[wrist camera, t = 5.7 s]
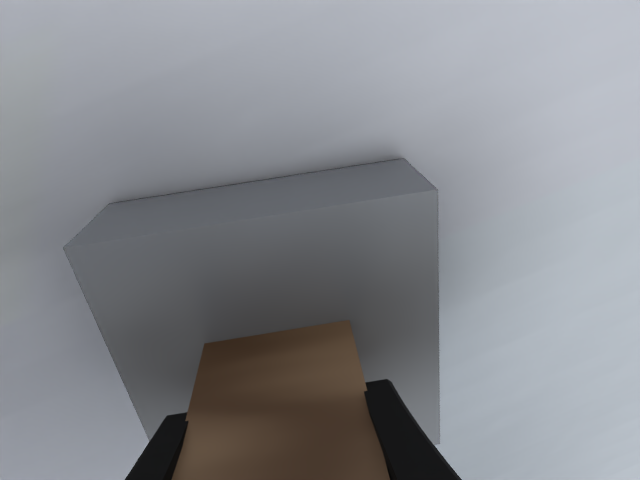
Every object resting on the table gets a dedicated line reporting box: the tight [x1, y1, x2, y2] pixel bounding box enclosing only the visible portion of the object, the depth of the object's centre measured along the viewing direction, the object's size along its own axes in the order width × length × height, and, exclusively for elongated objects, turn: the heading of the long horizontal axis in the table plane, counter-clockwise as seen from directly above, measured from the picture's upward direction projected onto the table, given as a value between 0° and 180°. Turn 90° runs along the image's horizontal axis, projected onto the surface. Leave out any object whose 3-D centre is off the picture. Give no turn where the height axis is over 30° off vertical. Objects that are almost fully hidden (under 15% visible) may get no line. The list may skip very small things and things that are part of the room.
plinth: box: [63, 159, 440, 445], centre depth 13 cm, size 9×9×3 cm
